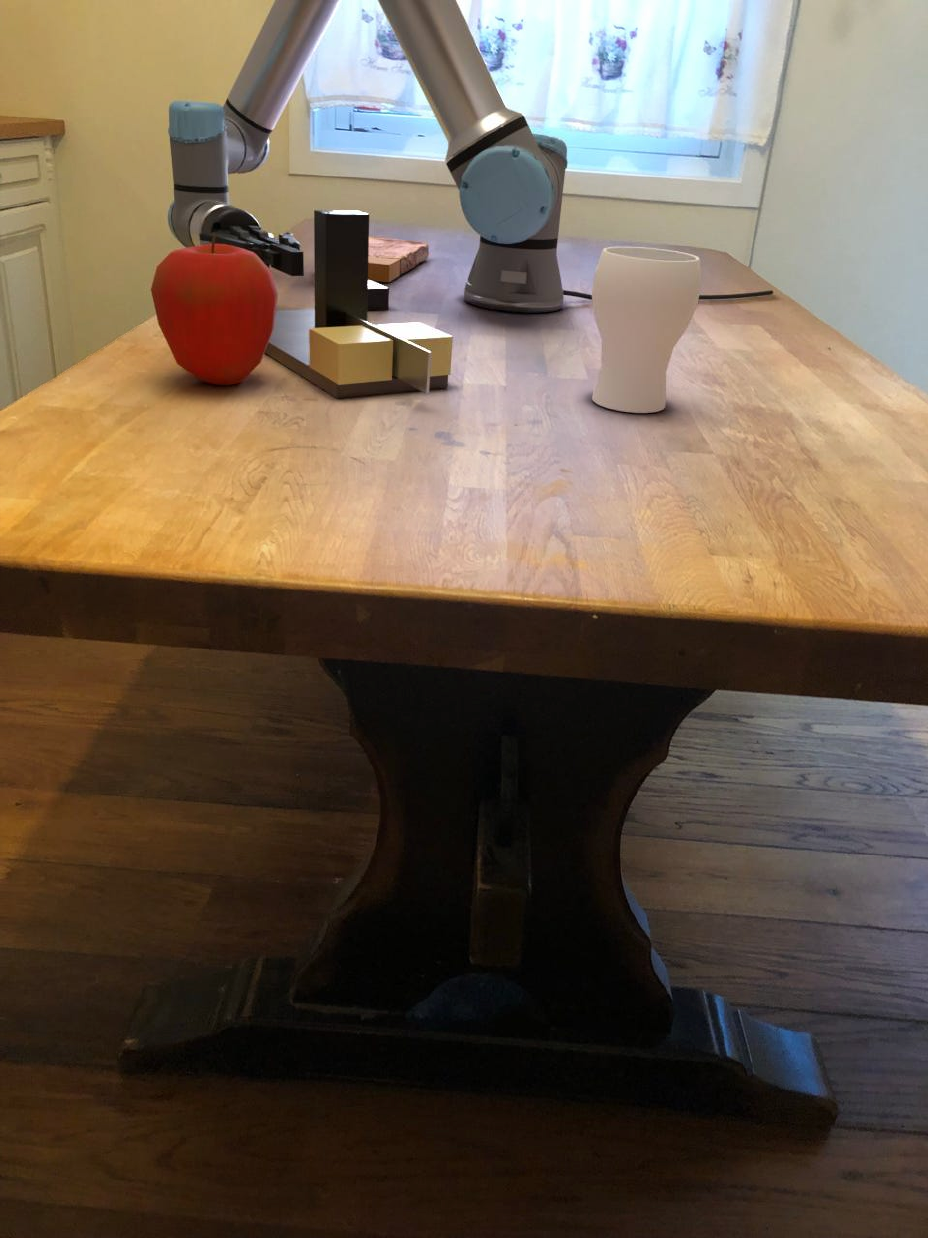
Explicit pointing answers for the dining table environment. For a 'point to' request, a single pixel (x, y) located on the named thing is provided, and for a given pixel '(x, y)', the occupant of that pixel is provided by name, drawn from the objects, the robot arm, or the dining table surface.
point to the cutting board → (294, 353)
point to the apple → (215, 310)
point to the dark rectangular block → (377, 297)
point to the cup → (641, 322)
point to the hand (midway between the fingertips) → (297, 263)
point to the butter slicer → (355, 288)
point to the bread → (393, 257)
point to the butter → (373, 351)
